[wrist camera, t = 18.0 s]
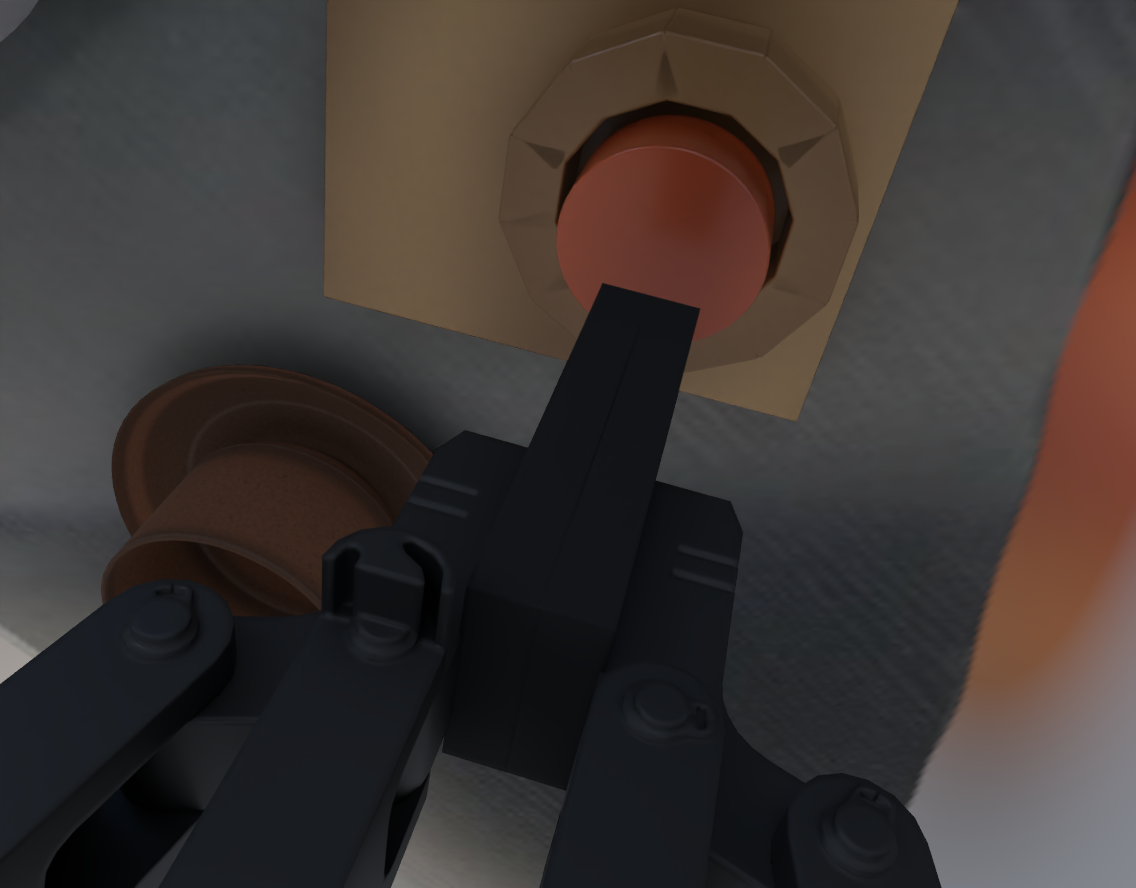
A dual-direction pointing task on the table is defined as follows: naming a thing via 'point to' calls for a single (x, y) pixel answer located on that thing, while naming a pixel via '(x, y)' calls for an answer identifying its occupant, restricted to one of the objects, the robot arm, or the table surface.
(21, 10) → the teacup
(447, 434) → the table surface
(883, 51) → the tan block
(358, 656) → the robot arm
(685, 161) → the power button
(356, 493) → the cup and saucer
